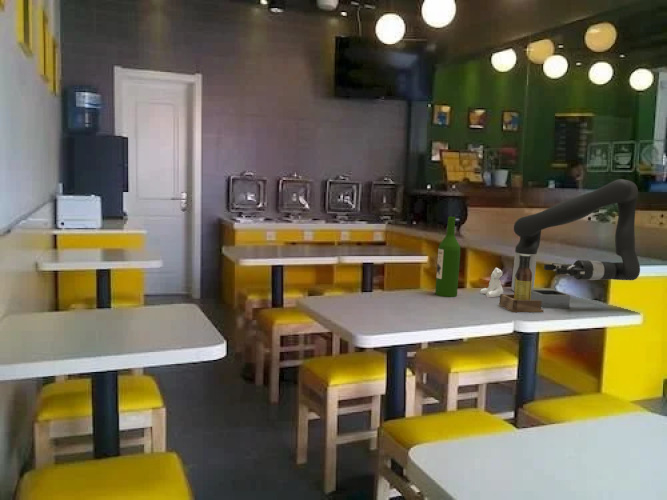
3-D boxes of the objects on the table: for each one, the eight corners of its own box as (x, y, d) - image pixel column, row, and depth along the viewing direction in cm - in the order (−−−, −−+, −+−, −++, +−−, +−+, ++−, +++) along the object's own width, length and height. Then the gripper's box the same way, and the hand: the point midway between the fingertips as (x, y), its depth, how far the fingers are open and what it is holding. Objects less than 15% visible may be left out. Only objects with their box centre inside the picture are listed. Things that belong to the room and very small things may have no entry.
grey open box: (527, 301, 251) (528, 289, 251) (554, 302, 254) (555, 290, 253) (541, 307, 241) (542, 295, 240) (569, 307, 243) (570, 295, 242)
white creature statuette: (478, 293, 266) (481, 265, 264) (497, 293, 267) (500, 266, 266) (487, 297, 256) (490, 269, 255) (507, 298, 258) (509, 269, 256)
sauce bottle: (519, 304, 241) (524, 253, 238) (533, 307, 236) (538, 255, 233) (509, 305, 237) (513, 254, 234) (522, 308, 232) (527, 256, 229)
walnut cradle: (499, 305, 241) (500, 294, 240) (527, 305, 243) (528, 294, 243) (513, 312, 229) (514, 300, 229) (543, 312, 232) (544, 300, 231)
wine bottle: (431, 293, 260) (436, 215, 256) (450, 292, 263) (455, 216, 259) (441, 297, 252) (447, 217, 248) (461, 296, 255) (467, 218, 251)
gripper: (578, 257, 246) (541, 256, 243) (600, 263, 232) (561, 262, 229) (576, 276, 247) (539, 275, 244) (598, 283, 233) (559, 282, 230)
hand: (550, 268), depth 237 cm, fingers open, 8 cm apart
